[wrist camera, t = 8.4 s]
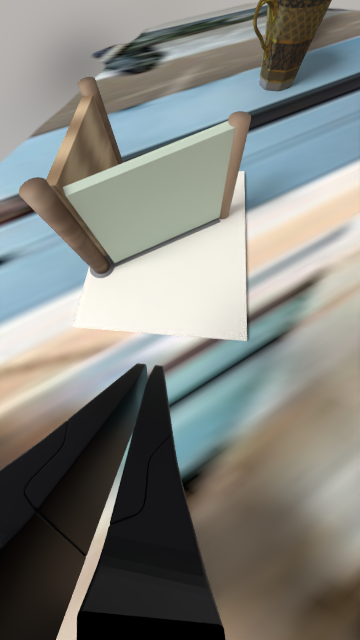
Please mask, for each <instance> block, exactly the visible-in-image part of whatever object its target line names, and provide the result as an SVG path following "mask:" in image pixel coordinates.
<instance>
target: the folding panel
mask: <svg viewBox="0 0 360 640" xmlns="http://www.w3.org/2000/svg"><path fill="white" fill-rule="evenodd" d="M250 120H251V116H250V114H248V113H246V112H242V111H239V112H235V113H232V114H231V115H230V116H229V121H227V122H224V123H222V124H219V125H217V126H214V127H212V128H209V129H207V130H204V131H202V132H199V133H197V134H194V135H192V136H189V137H187V138H184V139H182V140H179V141H177V142H174V143H172V144H169V145H167V146H164V147H162V148H159V149H157V150H154V151H152V152H149V153H147V154H144V155H142V156H139V157H137V158H135V159H132V160H130V161H127V162H125V163H122V164H120V165H117V166H115V167H112V168H110V169H107V170H105V171H102V172H100V173H97V174H95V175H92V176H90V177H87V178H85V179H82V180H80V181H77V182H75V183H72V184H70V185H67V186H65V187H63V190H64V193H65V195H66V197H67V198H68V200H69V201H70V203H71V204H72V205H73V207H74V208H75V209H76V211H77V212H78V214H79V215H80V216H81V218H82V219H83V220H84V222H85V223H86V225H87V226H88V227H89V229H90V230H91V231H92V233H93V234H94V236H95V237H96V238H97V240H98V241H99V242H100V244H101V245H102V247H103V248H104V249H105V251H106V252H107V253H108V255H109V256H110V258H111V259H112V260H113V262H114V263H116V262H119V261H121V260H123V259H126V258H128V257H130V256H132V255H135V254H137V253H139V252H142V251H144V250H146V249H148V248H151V247H153V246H155V245H158V244H160V243H162V242H164V241H167V240H169V239H171V238H174V237H176V236H178V235H180V234H183V233H185V232H187V231H190V230H192V229H194V228H196V227H199V226H201V225H203V224H206V223H208V222H210V221H212V220H215V219H217V218H219V219H225V218H227V217H228V215H229V211H230V207H231V203H232V198H233V194H234V190H235V185H236V181H237V177H238V172H239V168H240V164H241V159H242V155H243V151H244V146H245V142H246V138H247V133H248V129H249V125H250Z"/></svg>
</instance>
